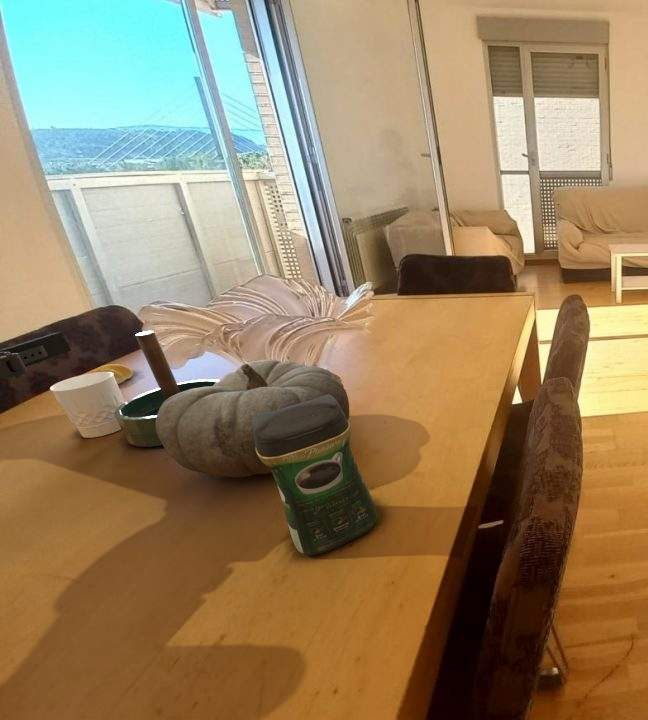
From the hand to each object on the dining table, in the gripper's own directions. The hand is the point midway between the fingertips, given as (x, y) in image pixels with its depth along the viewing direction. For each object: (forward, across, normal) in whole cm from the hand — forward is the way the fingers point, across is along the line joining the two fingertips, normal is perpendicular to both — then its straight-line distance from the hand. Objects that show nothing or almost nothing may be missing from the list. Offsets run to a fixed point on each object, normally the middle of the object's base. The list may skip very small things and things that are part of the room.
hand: (15, 342), depth 64 cm
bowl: (+16, 0, -23) cm, 29 cm away
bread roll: (+37, -35, -24) cm, 56 cm away
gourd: (+7, +24, -23) cm, 34 cm away
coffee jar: (-12, +45, -23) cm, 52 cm away
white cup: (+16, -14, -24) cm, 32 cm away
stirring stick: (+16, 0, -23) cm, 28 cm away
